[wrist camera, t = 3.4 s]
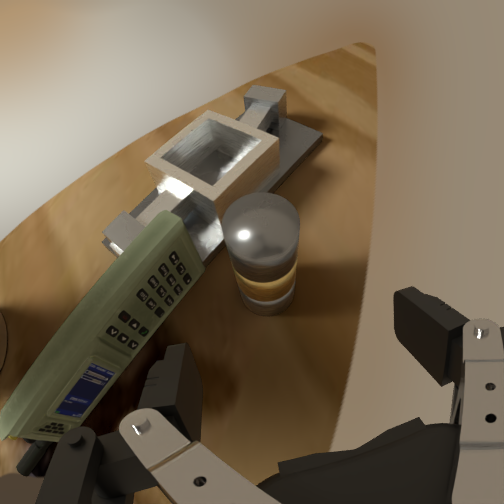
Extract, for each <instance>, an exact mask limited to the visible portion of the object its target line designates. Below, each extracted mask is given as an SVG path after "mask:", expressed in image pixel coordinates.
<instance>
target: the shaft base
mask: <svg viewBox="0 0 504 504" xmlns="http://www.w3.org/2000/svg"><path fill="white" fill-rule="evenodd" d="M244 104H245V112H244V113H243V114H242V115H240V116H239V117H238V118H236V119H235V120H234V119H231V118H229V117H226V116H224V115H221V114H218V113H216V112H213V111H210V110H207V111H206V112H205V113H203V114H202V115H201V116H199V117H198V118H197V119H195V120H194V121H193V122H191V123H190V124H189V125H188V126H186V127H185V128H184V129H183V130H181V131H180V132H179V133H178V134H176V135H175V136H174V137H173V138H171V139H170V140H169V141H168V142H167V143H165V144H164V145H163V146H162V147H161V148H159V149H158V150H157V151H156V152H155V153H153V154H152V155H151V156H150V157H149V158H148V159H146V160H145V164H146V166H147V168H148V170H149V172H150V175H151V177H152V179H153V181H154V183H155V185H156V188H155V189H154V190H153V191H152V192H151V193H150V194H149V195H148V196H147V197H146V198H145V199H144V200H143V201H142V202H141V203H140V204H139V205H138V206H137V207H136V208H135V209H134V210H133V211H131V212H130V213H129V214H128V213H127V212H125V211H124V210H123V211H122V212H121V213H120V214H119V215H118V216H117V217H116V218H115V219H114V220H113V221H112V222H111V223H110V224H109V225H108V226H107V227H106V229H105V230H104V231H103V232H102V233H103V234H104V235H105V236H106V238H105V239H104V240H103V241H102V243H103V244H104V245H105V247H106V248H107V249H108V250H109V251H110V252H112V253H113V254H114V255H115V256H116V257H117V258H118V257H119V256H120V255H121V253H122V252H123V251H124V250H125V249H126V248H127V247H128V246H129V245H130V243H131V242H132V241H133V240H134V239H135V238H136V237H137V236H138V235H139V234H140V232H141V231H142V230H143V229H144V228H145V227H146V226H147V225H148V224H149V223H150V222H151V221H152V220H153V219H154V218H155V217H156V215H157V214H158V213H160V212H162V211H163V210H167V211H169V212H171V213H173V214H175V215H177V216H179V217H181V218H182V220H183V222H184V224H185V226H186V228H187V231H188V233H189V235H190V237H191V239H192V241H193V243H194V245H195V247H196V249H197V251H198V253H199V255H200V257H201V260H202V263H203V265H204V267H205V268H206V267H207V265H208V264H209V263H210V262H211V261H212V260H213V259H214V258H215V256H216V255H217V254H218V253H219V252H220V251H221V250H222V249H223V248H224V246H225V245H226V243H225V240H224V237H223V233H222V219H223V216H224V214H225V212H226V210H227V209H228V208H229V206H230V205H231V204H232V203H233V202H235V201H236V200H237V199H239V198H241V197H243V196H245V195H248V194H252V193H258V192H266V193H274V192H275V191H276V189H277V188H278V187H279V186H280V185H281V184H282V183H283V182H284V181H285V180H286V179H287V178H288V177H289V175H290V174H291V173H292V172H293V171H294V170H295V169H296V168H297V167H298V166H299V165H300V164H301V163H302V162H303V161H304V159H305V158H306V157H307V156H308V155H309V154H310V153H311V152H312V151H313V150H314V149H315V148H316V147H317V146H318V145H319V144H320V142H321V141H322V138H323V133H321V132H319V131H316V130H314V129H312V128H309V127H307V126H305V125H302V124H300V123H297V122H295V121H292V120H290V119H287V110H286V90H282V89H276V88H270V87H263V86H256V85H253V86H252V87H251V88H250V89H249V91H248V92H247V93H246V94H245V96H244Z"/></svg>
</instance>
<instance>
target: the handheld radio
mask: <svg viewBox="0 0 504 504" xmlns="http://www.w3.org/2000/svg"><path fill="white" fill-rule="evenodd" d="M204 272H205V267H204V265H203V263H202V260H201V257H200V255H199V253H198V251H197V249H196V247H195V245H194V243H193V241H192V239H191V237H190V235H189V233H188V231H187V228H186V226H185V224H184V222H183V220H182V218H181V217H179V216H177V215H175V214H173V213H171V212H169V211H167V210H163V211H162V212H160V213H158V214H157V215H156V217H155V218H154V219H153V220H152V221H151V222H150V223H149V224H148V225H147V226H146V227H145V228H144V229H143V230H142V231H141V232H140V234H139V235H138V236H137V237H136V238H135V239H134V240H133V241H132V242H131V243H130V245H129V246H128V247H127V248H126V249H125V250H124V251H123V252H122V253H121V255H120V256H119V257H118V258H117V259H116V260H115V261H114V262H113V264H112V265H111V266H110V267H109V268H108V269H107V271H106V272H105V273H104V274H103V275H102V276H101V278H100V279H99V280H98V281H97V282H96V283H95V285H94V286H93V287H92V288H91V289H90V291H89V292H88V293H87V294H86V295H85V297H84V298H83V299H82V300H81V302H80V303H79V304H78V305H77V306H76V308H75V309H74V310H73V311H72V313H71V314H70V315H69V316H68V318H67V319H66V320H65V322H64V323H63V324H62V325H61V327H60V328H59V329H58V331H57V332H56V333H55V335H54V336H53V337H52V338H51V340H50V341H49V342H48V344H47V345H46V346H45V348H44V349H43V351H42V352H41V353H40V355H39V356H38V357H37V359H36V360H35V362H34V363H33V364H32V366H31V367H30V369H29V370H28V371H27V373H26V374H25V376H24V377H23V379H22V380H21V381H20V383H19V384H18V386H17V387H16V389H15V390H14V392H13V393H12V395H11V396H10V398H9V399H8V401H7V402H6V404H5V405H4V407H3V409H2V410H1V414H0V438H1V440H2V441H3V440H5V439H6V438H7V437H9V438H10V439H11V440H16V439H17V438H18V437H21V438H23V439H24V440H25V441H26V442H27V443H33V444H32V445H31V446H30V448H29V449H28V451H27V452H26V453H25V455H24V456H23V458H22V459H21V461H20V462H19V463H18V465H17V467H16V468H17V470H18V472H19V473H20V474H22V475H23V476H29V474H30V473H31V471H32V470H33V469H34V467H35V466H36V465H37V463H38V462H39V460H40V459H41V458H42V456H43V455H44V454H45V452H46V451H47V448H48V446H49V445H51V444H52V443H53V442H59V440H60V438H61V437H62V436H63V435H64V434H65V433H66V432H68V431H69V430H71V429H73V428H76V427H80V425H81V424H82V423H83V421H84V420H85V419H86V418H87V416H88V415H89V414H90V413H91V411H92V410H93V409H94V407H95V406H96V405H97V404H98V402H99V401H100V400H101V399H102V397H103V396H104V395H105V394H106V392H107V391H108V390H109V388H110V387H111V386H112V385H113V383H114V382H115V381H116V380H117V378H118V377H119V376H120V375H121V373H122V372H123V371H124V370H125V368H126V367H127V366H128V365H129V363H130V362H131V361H132V360H133V358H134V357H135V356H136V355H137V353H138V352H139V351H140V350H141V349H142V347H143V346H144V345H145V344H146V342H147V341H148V340H149V339H150V337H151V336H152V335H153V334H154V332H155V331H156V330H157V329H158V327H159V326H160V325H161V324H162V323H163V321H164V320H165V319H166V318H167V316H168V315H169V314H170V313H171V312H172V310H173V309H174V308H175V307H176V305H177V304H178V303H179V302H180V301H181V299H182V298H183V297H184V296H185V295H186V293H187V292H188V291H189V290H190V288H191V287H192V286H193V285H194V284H195V282H196V281H197V280H198V279H199V278H200V276H201V275H202V274H203V273H204Z"/></svg>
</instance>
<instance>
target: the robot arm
mask: <svg viewBox="0 0 504 504" xmlns="http://www.w3.org/2000/svg"><path fill="white" fill-rule="evenodd" d="M394 330H395V334H396V337H397V339H398V340H399V342H400V343H401V344H402V345H403V346H404V347H405V348H406V349H407V350H408V351H409V352H410V353H411V354H412V355H413V356H414V357H415V359H416V360H417V361H418V362H419V363H420V364H421V365H422V366H423V367H424V368H425V369H426V370H427V372H428V373H429V374H430V375H431V376H432V377H433V378H434V379H435V380H436V381H437V382H438V384H439V385H440V386H441V387H442V386H444V385H446V384H448V383H450V382H452V381H453V382H454V383H455V385H454V390H453V399H452V408H451V416H450V423H449V424H448V423H439V424H430V425H425V424H424V423H423V422H422V421H421V419H420V418H419V417H418V418H415V419H413V420H411V421H408V422H406V423H404V424H401V425H399V426H396V427H394V428H392V429H389V430H387V431H385V432H383V433H382V434H380V435H379V436H377V437H376V438H374V439H372V440H371V441H369V442H367V443H366V444H364V445H362V446H361V447H359V448H357V449H354V450H346V451H338V452H327V453H315V454H311V455H307V456H304V457H300V458H295V459H291V460H287V461H282V462H278V467H279V472H280V473H277V474H275V475H273V476H271V477H269V478H267V479H265V480H264V481H262V482H261V483H259V484H258V485H257V486H255V485H254V484H252V483H251V482H249V481H248V480H247V479H245V478H244V477H243V476H241V475H240V474H239V473H237V472H236V471H235V470H233V469H232V468H231V467H229V466H228V465H227V464H226V463H224V462H223V461H222V460H221V459H219V458H218V457H217V456H216V455H214V454H213V453H212V452H211V451H210V450H208V449H207V448H206V447H205V446H204V445H202V444H201V443H200V437H201V417H202V398H203V386H202V381H201V377H200V374H199V371H198V369H197V366H196V363H195V360H194V358H193V355H192V352H191V349H190V347H189V345H188V343H182V344H177V345H171V346H168V347H167V349H166V353H165V357H164V360H160V361H157V362H156V363H155V364H154V365H153V366H152V367H151V368H150V369H149V373H148V376H147V380H146V382H145V385H144V386H145V387H144V389H143V392H142V395H141V398H140V402H139V405H138V408H137V410H136V411H133V412H131V413H130V414H128V415H127V416H126V417H125V418H124V419H123V420H122V421H121V423H120V426H119V430H118V431H115V432H112V433H109V434H105V435H102V436H98V437H97V435H96V434H95V432H94V431H93V430H92V429H91V428H88V427H76V428H73V429H71V430H69V431H68V432H66V433H65V434H64V435H63V436H62V437H61V438H60V440H59V442H58V444H57V447H56V449H55V452H54V454H53V457H52V459H51V462H50V464H49V467H48V470H47V472H46V475H45V478H44V480H43V483H42V486H41V489H40V492H39V494H38V497H37V500H36V503H35V504H133V500H134V492H137V491H141V490H144V489H148V488H151V487H154V486H157V487H158V488H159V489H160V490H161V491H162V492H163V494H164V495H165V496H166V497H167V498H168V499H169V501H170V502H171V503H172V504H504V327H499V326H498V325H497V324H496V323H495V322H493V321H491V320H488V319H474V320H471V321H470V320H469V319H467V318H466V317H464V316H463V315H462V314H460V313H459V312H458V311H456V310H455V309H453V308H451V307H450V306H449V305H447V304H445V302H443V301H441V300H440V299H439V298H437V297H433V296H431V295H427V294H423V293H422V292H420V291H419V290H418V289H416V288H415V287H412V286H411V287H408V288H405V289H402V290H399V291H396V292H395V293H394ZM6 348H7V331H6V325H5V321H4V318H3V316H2V314H1V312H0V370H1V368H2V365H3V362H4V359H5V355H6Z"/></svg>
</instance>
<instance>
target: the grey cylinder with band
mask: <svg viewBox="0 0 504 504" xmlns="http://www.w3.org/2000/svg"><path fill="white" fill-rule="evenodd" d="M299 230H300V219H299V215H298V212H297V210H296V209H295V207H294V206H293V205H292V204H291V203H290V202H289V201H288V200H286V199H285V198H283V197H281V196H279V195H276V194H273V193H266V192H258V193H252V194H248V195H245V196H243V197H241V198H239V199H237V200H236V201H235V202H233V203H232V204H231V205H230V206H229V208H228V209H227V210H226V212H225V214H224V216H223V219H222V233H223V237H224V240H225V243H226V247H227V250H228V253H229V257H230V260H231V264H232V267H233V270H234V274H235V277H236V280H237V284H238V287H239V290H240V294H241V297H242V300H243V302H244V304H245V305H246V307H247V308H248V309H249V310H250V311H252V312H253V313H255V314H258V315H261V316H273V315H277V314H279V313H281V312H283V311H284V310H286V309H287V308H288V307H289V305H290V304H291V302H292V300H293V297H294V291H295V280H296V268H297V256H298V244H299Z"/></svg>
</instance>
